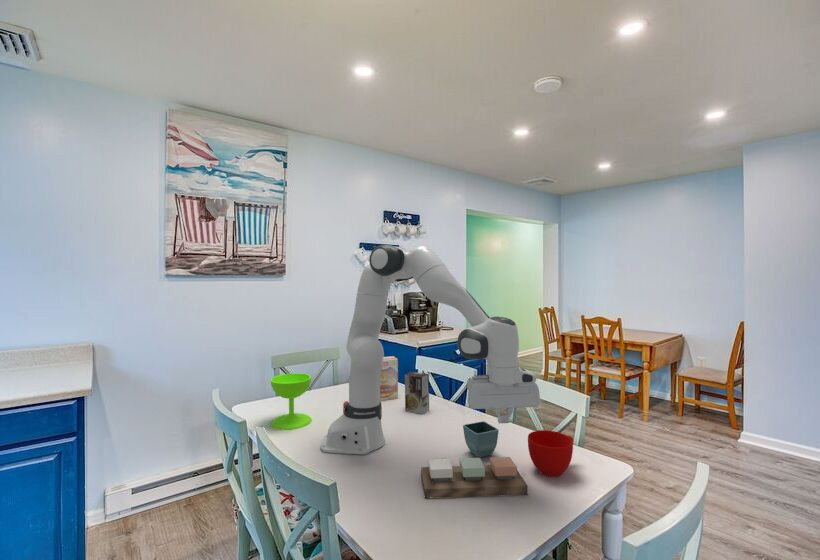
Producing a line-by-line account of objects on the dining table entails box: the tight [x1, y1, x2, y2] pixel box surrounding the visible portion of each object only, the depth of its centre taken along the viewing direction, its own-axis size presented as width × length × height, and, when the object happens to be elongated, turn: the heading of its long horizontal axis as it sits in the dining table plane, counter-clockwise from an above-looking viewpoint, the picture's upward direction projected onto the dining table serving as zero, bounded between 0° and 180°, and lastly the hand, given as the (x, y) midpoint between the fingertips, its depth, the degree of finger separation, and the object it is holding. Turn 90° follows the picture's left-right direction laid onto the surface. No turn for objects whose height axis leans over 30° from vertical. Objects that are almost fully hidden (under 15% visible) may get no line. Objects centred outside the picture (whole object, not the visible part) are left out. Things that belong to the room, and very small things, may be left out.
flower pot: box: [462, 420, 500, 459], centre depth 132 cm, size 9×9×9 cm
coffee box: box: [404, 371, 430, 415], centre depth 173 cm, size 9×6×16 cm
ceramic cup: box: [527, 429, 574, 478], centre depth 121 cm, size 13×17×10 cm
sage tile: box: [458, 457, 485, 481], centre depth 112 cm, size 6×6×5 cm
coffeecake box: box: [380, 355, 399, 402], centre depth 191 cm, size 15×7×20 cm, turn 111°
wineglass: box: [270, 372, 313, 431], centre depth 161 cm, size 16×16×18 cm
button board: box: [420, 464, 529, 499], centre depth 112 cm, size 28×12×2 cm, turn 93°
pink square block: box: [489, 456, 518, 480], centre depth 113 cm, size 6×6×5 cm
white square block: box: [428, 458, 453, 482], centre depth 112 cm, size 6×6×5 cm
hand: (503, 422), depth 113 cm, fingers closed
